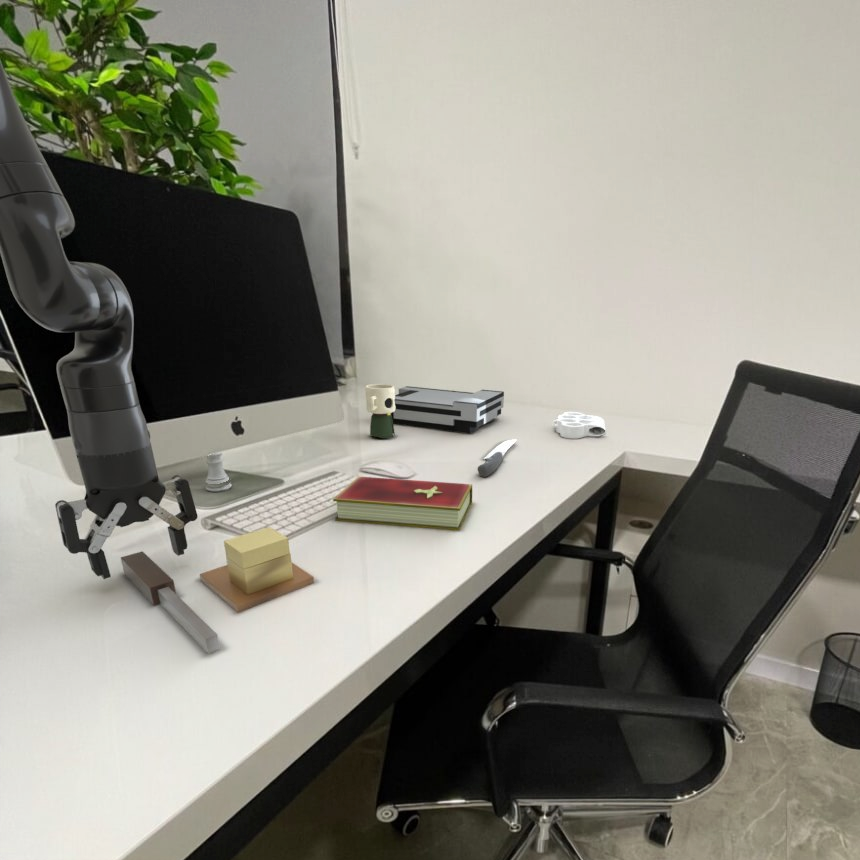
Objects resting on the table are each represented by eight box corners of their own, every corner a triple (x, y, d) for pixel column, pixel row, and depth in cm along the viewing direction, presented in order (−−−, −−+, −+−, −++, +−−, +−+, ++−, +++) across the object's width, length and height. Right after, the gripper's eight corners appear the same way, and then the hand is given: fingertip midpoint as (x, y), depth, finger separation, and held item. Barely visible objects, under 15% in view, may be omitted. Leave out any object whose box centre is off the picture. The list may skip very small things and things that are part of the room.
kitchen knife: (498, 437, 140) (517, 433, 139) (501, 447, 141) (519, 443, 140) (466, 469, 114) (489, 465, 112) (469, 480, 114) (492, 476, 113)
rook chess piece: (203, 487, 104) (195, 446, 101) (228, 483, 106) (222, 443, 103) (209, 494, 100) (202, 452, 97) (235, 489, 103) (229, 448, 100)
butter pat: (243, 569, 66) (240, 553, 65) (226, 556, 69) (223, 540, 68) (290, 553, 70) (288, 537, 70) (271, 541, 73) (269, 526, 72)
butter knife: (201, 657, 58) (197, 637, 57) (124, 574, 73) (120, 557, 72) (226, 646, 59) (223, 626, 58) (146, 568, 75) (142, 550, 74)
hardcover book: (360, 495, 102) (359, 474, 101) (472, 503, 100) (472, 482, 99) (335, 521, 91) (332, 497, 90) (459, 531, 89) (459, 506, 87)
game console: (407, 408, 174) (406, 382, 171) (503, 419, 164) (503, 391, 161) (371, 422, 155) (369, 393, 152) (476, 435, 145) (476, 404, 142)
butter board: (238, 613, 65) (232, 580, 64) (200, 580, 72) (194, 549, 71) (314, 583, 72) (311, 552, 71) (273, 555, 79) (269, 527, 78)
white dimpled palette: (605, 440, 144) (549, 437, 146) (603, 425, 161) (552, 422, 162) (606, 428, 143) (550, 424, 145) (604, 413, 160) (553, 410, 161)
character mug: (386, 443, 135) (384, 390, 131) (360, 441, 137) (356, 388, 132) (403, 433, 145) (402, 383, 140) (378, 431, 147) (376, 381, 142)
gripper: (166, 428, 73) (189, 538, 79) (31, 449, 63) (69, 574, 69) (189, 438, 68) (212, 555, 74) (46, 463, 58) (86, 596, 64)
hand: (143, 564), depth 71 cm, fingers open, 8 cm apart
